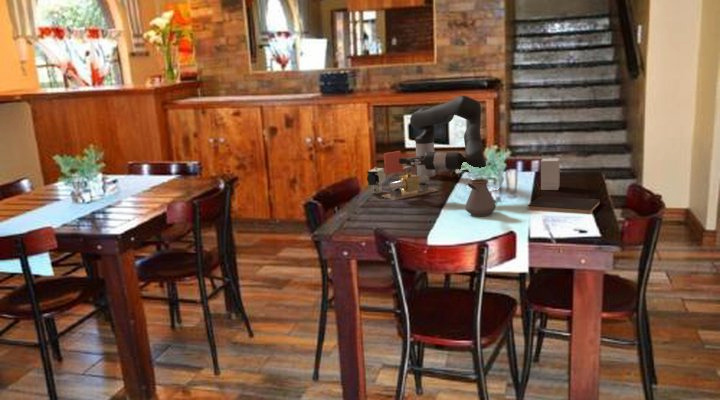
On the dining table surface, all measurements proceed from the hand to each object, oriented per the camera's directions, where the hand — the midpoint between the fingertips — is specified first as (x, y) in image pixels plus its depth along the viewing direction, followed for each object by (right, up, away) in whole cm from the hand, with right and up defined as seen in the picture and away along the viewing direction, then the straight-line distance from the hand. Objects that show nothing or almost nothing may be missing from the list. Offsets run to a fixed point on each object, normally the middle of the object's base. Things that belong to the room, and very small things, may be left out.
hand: (399, 160), depth 269 cm
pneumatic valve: (-9, -14, +20) cm, 25 cm away
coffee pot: (+27, -23, -35) cm, 50 cm away
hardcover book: (+61, -20, -30) cm, 71 cm away
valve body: (+5, -14, +12) cm, 19 cm away
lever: (0, -5, +7) cm, 9 cm away
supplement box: (+65, -12, +2) cm, 67 cm away
